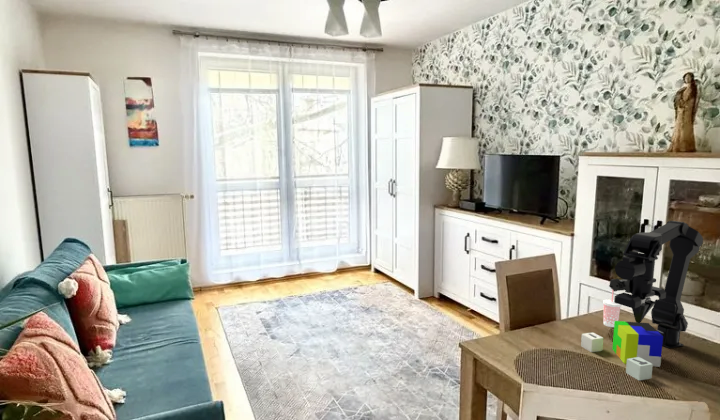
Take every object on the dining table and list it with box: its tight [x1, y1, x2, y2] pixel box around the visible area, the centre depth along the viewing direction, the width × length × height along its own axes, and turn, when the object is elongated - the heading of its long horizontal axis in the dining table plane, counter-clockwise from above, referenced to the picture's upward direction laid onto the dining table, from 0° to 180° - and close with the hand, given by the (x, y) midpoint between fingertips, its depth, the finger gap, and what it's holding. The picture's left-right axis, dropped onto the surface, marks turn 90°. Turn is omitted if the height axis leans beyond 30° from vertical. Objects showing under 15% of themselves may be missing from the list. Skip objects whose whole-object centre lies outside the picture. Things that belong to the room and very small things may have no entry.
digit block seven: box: [625, 357, 654, 381], centre depth 126 cm, size 4×4×5 cm
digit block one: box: [580, 332, 604, 353], centre depth 143 cm, size 4×4×5 cm
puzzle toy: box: [611, 320, 663, 368], centre depth 136 cm, size 10×10×10 cm
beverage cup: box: [602, 289, 622, 328], centre depth 161 cm, size 6×6×14 cm
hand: (638, 322), depth 135 cm, fingers closed
